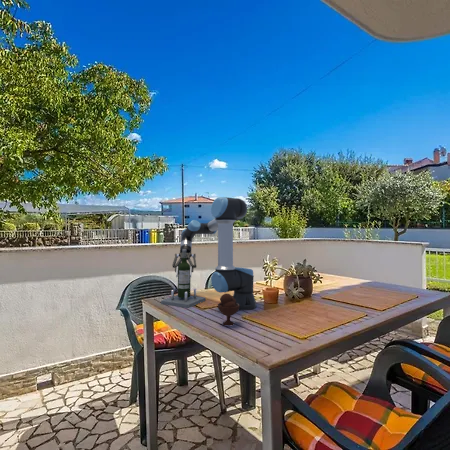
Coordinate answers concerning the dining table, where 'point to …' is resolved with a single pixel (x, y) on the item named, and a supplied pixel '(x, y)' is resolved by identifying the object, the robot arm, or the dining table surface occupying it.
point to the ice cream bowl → (228, 307)
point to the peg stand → (183, 300)
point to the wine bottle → (183, 276)
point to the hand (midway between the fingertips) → (183, 276)
